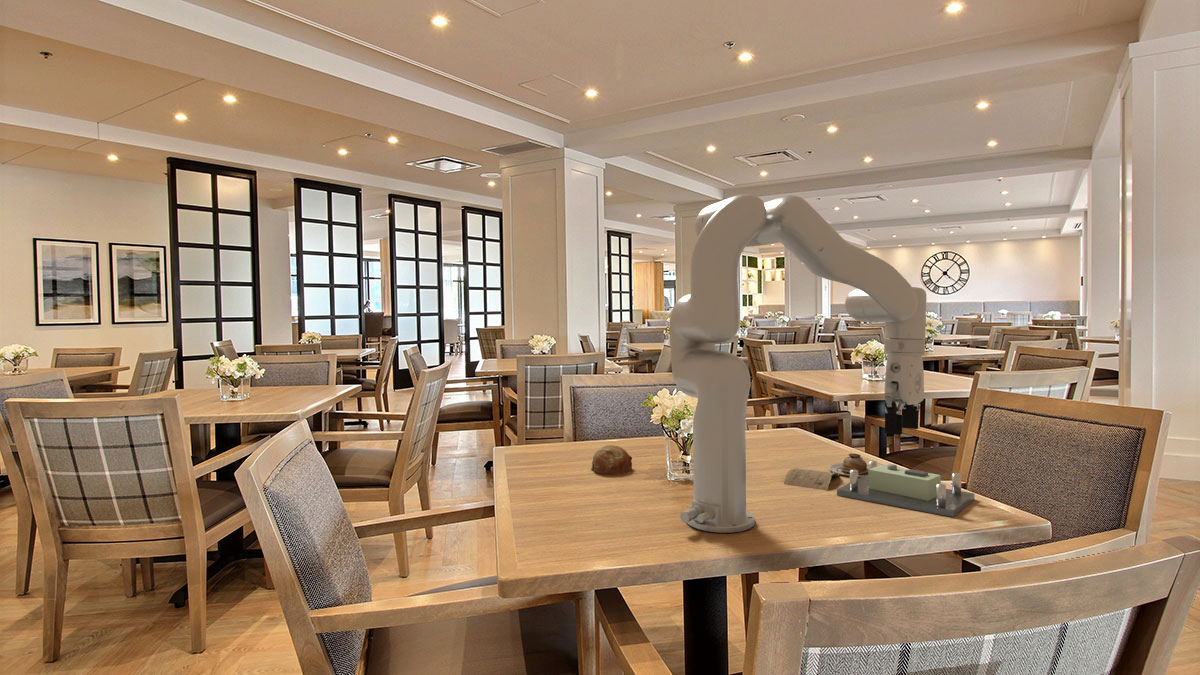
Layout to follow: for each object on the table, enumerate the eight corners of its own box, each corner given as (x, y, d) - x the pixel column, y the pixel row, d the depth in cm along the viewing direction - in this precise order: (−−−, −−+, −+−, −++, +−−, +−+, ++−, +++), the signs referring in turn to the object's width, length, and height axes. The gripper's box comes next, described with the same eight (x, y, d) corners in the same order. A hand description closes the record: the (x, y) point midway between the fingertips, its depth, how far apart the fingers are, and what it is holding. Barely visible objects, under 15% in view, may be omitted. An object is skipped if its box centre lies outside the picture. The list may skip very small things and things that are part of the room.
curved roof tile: (827, 494, 135) (827, 481, 135) (780, 487, 140) (780, 475, 140) (841, 478, 147) (841, 467, 147) (797, 473, 152) (797, 462, 152)
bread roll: (594, 480, 161) (580, 453, 159) (627, 460, 163) (614, 433, 162) (606, 490, 151) (591, 462, 150) (641, 468, 154) (628, 440, 153)
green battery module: (927, 500, 123) (927, 476, 123) (868, 488, 132) (868, 465, 132) (940, 494, 127) (940, 471, 127) (882, 483, 136) (882, 461, 136)
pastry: (854, 465, 158) (854, 447, 158) (894, 476, 148) (894, 457, 147) (818, 471, 153) (818, 452, 153) (856, 483, 143) (856, 462, 142)
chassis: (953, 517, 117) (953, 489, 117) (836, 495, 132) (836, 470, 132) (974, 499, 128) (974, 473, 127) (864, 480, 143) (864, 457, 143)
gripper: (909, 349, 120) (906, 438, 120) (937, 347, 132) (934, 428, 133) (869, 347, 125) (866, 433, 125) (899, 346, 137) (897, 424, 138)
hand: (901, 431), depth 129 cm, fingers open, 9 cm apart
